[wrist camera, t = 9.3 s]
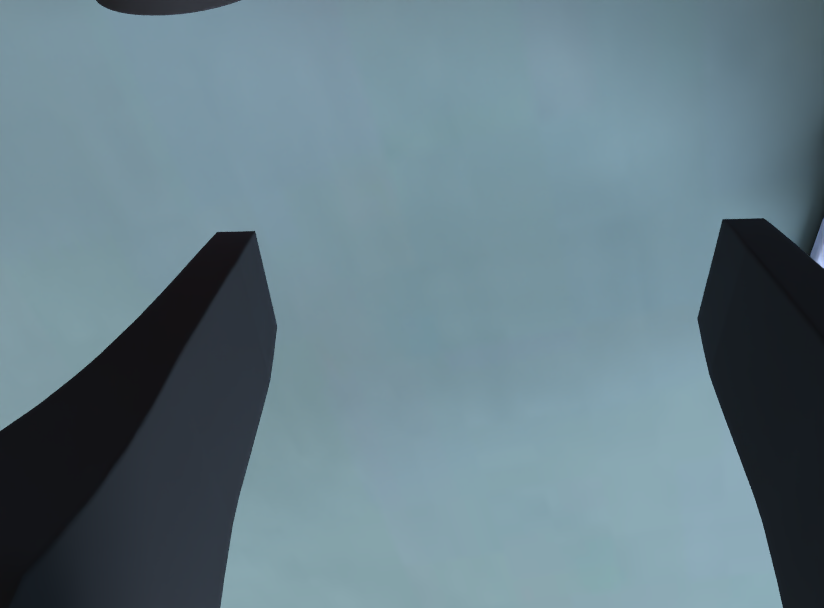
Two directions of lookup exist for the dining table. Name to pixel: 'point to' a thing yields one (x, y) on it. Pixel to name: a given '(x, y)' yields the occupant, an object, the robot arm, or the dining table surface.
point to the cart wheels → (162, 6)
